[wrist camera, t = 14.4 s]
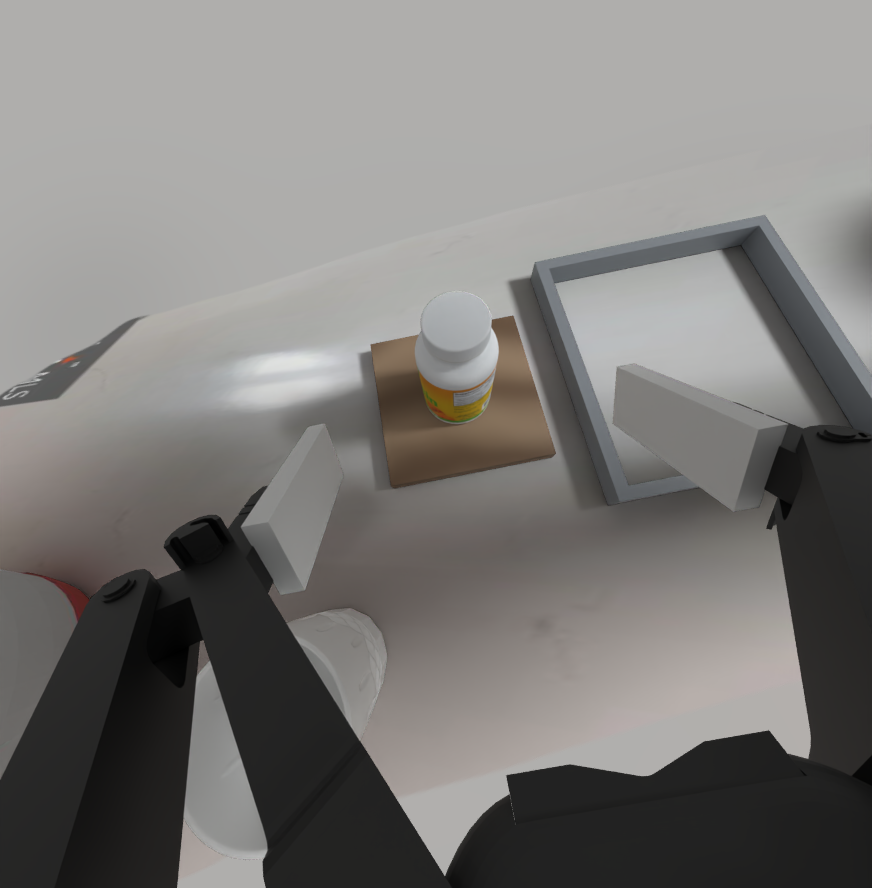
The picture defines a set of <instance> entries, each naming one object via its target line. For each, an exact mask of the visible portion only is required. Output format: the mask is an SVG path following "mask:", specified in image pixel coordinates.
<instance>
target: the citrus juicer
mask: <svg viewBox="0 0 872 888" xmlns="http://www.w3.org/2000/svg"><path fill="white" fill-rule="evenodd" d="M88 602H89V599H88V598H87V597H86V596H85V595H84V594H83V593H82V592H81V591H80V590H79V589H77V588H75V587H73V586H71V585H69V584H66V583H64V582H61V581H58V580H55V579H52V578H49V577H46V576H42V575H37V574H32V573H18V572H13V571H8V570H3V569H0V779H1V777H2V775H3V773H4V771H5V769H6V767H7V765H8V763H9V761H10V759H11V757H12V755H13V753H14V751H15V749H16V747H17V745H18V743H19V741H20V739H21V737H22V735H23V733H24V730H25V728H26V726H27V724H28V722H29V720H30V718H31V716H32V714H33V712H34V710H35V708H36V706H37V704H38V702H39V700H40V698H41V696H42V694H43V692H44V690H45V688H46V686H47V684H48V682H49V680H50V678H51V676H52V674H53V672H54V669H55V667H56V665H57V663H58V661H59V659H60V657H61V655H62V653H63V651H64V649H65V647H66V645H67V643H68V641H69V639H70V637H71V635H72V633H73V631H74V629H75V627H76V625H77V623H78V621H79V619H80V617H81V615H82V613H83V611H84V608H85V606H86V604H87V603H88Z"/></svg>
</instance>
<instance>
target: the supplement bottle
mask: <svg viewBox="0 0 872 888" xmlns="http://www.w3.org/2000/svg"><path fill="white" fill-rule="evenodd" d="M491 325H492V317H491V313H490V310H489V308H488V306H487V305H486V303H485V302H484V301H483V300H482V299H480V298H479V297H478V296H476V295H474V294H472V293H468V292H464V291H451V292H446V293H443V294H441V295H439V296H437V297H435V298H434V299H432V300H431V301H430V302H429V303H428V304H427V306H426V307H425V309H424V311H423V313H422V316H421V332H420V334H419V335H418V338H417V340H416V344H415V359H416V364H417V368H418V372H419V376H420V380H421V384H422V389H423V393H424V397H425V401H426V404H427V406H428V408H429V410H430V411H431V413H432V414H433V415H434V416H435V417H437V418H438V419H440V420H441V421H443V422H446V423H450V424H463V423H467V422H470V421H473V420H474V419H476V418H477V417H479V416H480V415H481V414H482V413H483V412H484V410H485V409H486V407H487V405H488V403H489V399H490V396H491V391H492V386H493V381H494V375H495V370H496V366H497V361H498V353H499V347H498V341H497V338H496V335H495V333H494V331H493V330H492V328H491Z"/></svg>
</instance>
